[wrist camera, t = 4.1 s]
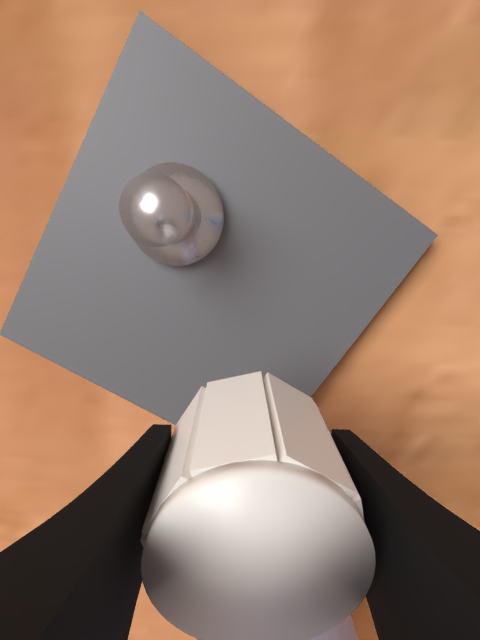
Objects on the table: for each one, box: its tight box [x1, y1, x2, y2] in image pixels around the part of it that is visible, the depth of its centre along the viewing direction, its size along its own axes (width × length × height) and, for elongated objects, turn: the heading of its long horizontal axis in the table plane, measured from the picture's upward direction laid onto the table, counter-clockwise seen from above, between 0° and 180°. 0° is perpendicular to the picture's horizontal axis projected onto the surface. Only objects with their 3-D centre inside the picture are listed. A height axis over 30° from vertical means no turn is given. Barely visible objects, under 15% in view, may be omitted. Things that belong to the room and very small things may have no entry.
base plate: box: [0, 11, 438, 425], centre depth 15 cm, size 16×16×1 cm
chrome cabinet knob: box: [119, 162, 224, 266], centre depth 12 cm, size 4×4×4 cm
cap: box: [140, 371, 376, 640], centre depth 9 cm, size 5×5×4 cm
